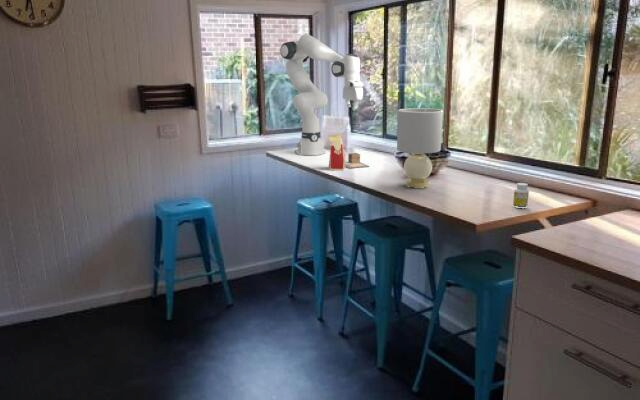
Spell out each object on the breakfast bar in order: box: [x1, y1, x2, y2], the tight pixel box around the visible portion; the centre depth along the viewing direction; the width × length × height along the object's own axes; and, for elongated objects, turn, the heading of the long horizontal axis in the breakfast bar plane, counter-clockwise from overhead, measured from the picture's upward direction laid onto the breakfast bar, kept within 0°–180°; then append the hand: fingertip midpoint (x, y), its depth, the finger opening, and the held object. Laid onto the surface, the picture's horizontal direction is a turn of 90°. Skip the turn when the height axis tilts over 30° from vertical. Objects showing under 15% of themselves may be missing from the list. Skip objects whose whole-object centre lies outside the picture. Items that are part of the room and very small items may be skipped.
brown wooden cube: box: [347, 152, 361, 163], centre depth 292 cm, size 5×5×5 cm
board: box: [345, 161, 370, 170], centre depth 288 cm, size 16×12×1 cm
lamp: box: [396, 107, 444, 189], centre depth 234 cm, size 20×20×35 cm
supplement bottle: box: [512, 182, 530, 207], centre depth 201 cm, size 5×5×10 cm
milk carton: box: [328, 132, 346, 172], centre depth 277 cm, size 9×9×20 cm
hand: (352, 107), depth 293 cm, fingers open, 8 cm apart
